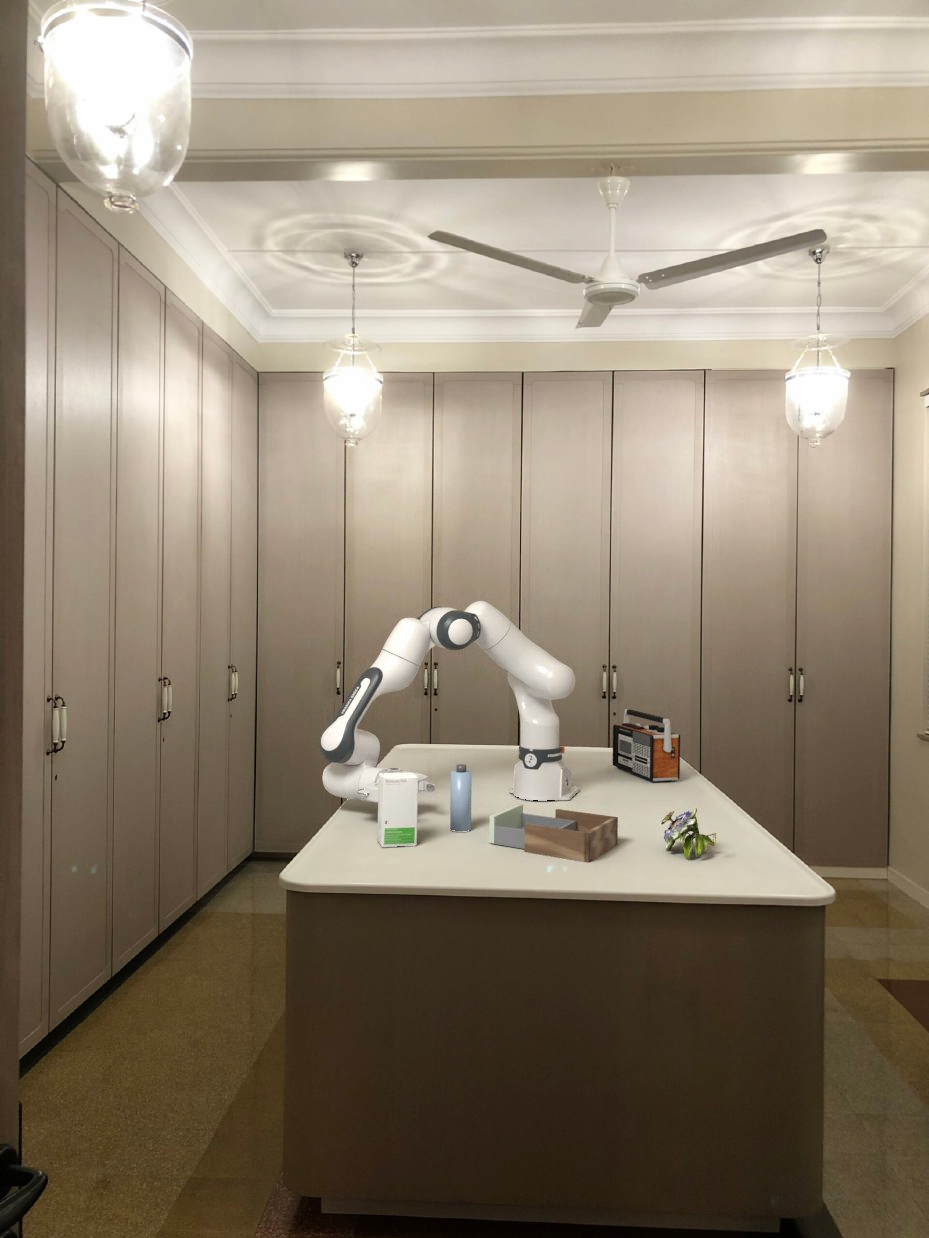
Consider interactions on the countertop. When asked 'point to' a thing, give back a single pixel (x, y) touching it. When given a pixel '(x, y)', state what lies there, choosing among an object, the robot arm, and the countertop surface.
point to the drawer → (520, 825)
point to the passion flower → (681, 828)
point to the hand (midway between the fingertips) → (423, 791)
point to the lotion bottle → (460, 799)
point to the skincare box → (397, 809)
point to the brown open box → (573, 836)
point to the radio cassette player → (646, 748)
